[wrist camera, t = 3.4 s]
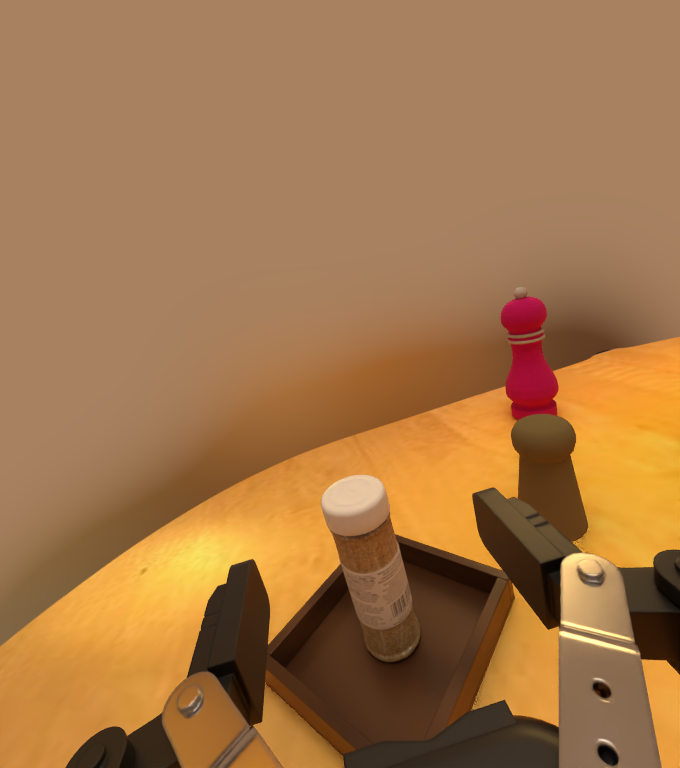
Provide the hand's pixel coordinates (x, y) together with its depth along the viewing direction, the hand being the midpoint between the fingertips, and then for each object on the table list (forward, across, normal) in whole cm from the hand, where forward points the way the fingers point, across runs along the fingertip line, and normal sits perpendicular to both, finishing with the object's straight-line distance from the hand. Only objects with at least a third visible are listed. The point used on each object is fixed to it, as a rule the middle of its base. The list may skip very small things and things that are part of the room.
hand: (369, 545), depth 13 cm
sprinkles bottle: (+11, 0, +18) cm, 22 cm away
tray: (+11, 0, +18) cm, 22 cm away
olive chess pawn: (+18, -18, +18) cm, 32 cm away
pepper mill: (+39, -31, +18) cm, 54 cm away
